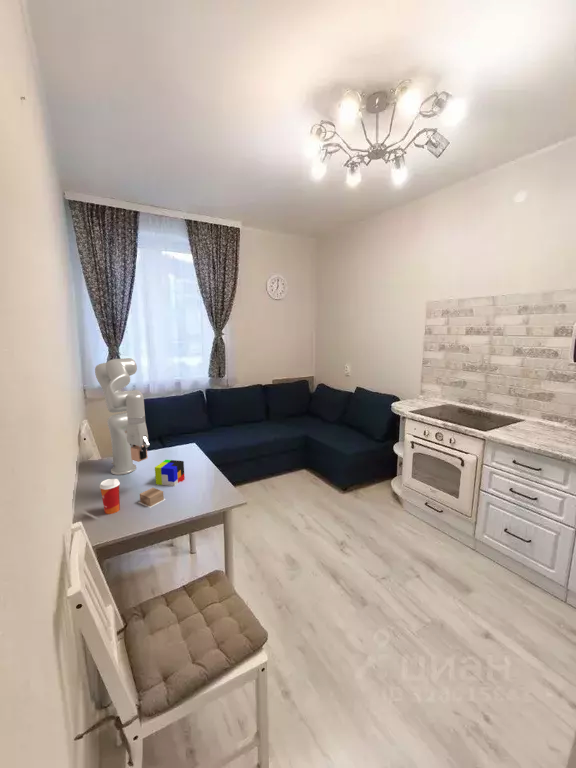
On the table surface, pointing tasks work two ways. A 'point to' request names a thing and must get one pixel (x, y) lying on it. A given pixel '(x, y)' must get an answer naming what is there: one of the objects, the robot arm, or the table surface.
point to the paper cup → (110, 495)
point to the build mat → (151, 506)
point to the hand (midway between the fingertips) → (139, 456)
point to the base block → (151, 496)
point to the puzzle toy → (169, 472)
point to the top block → (136, 453)
